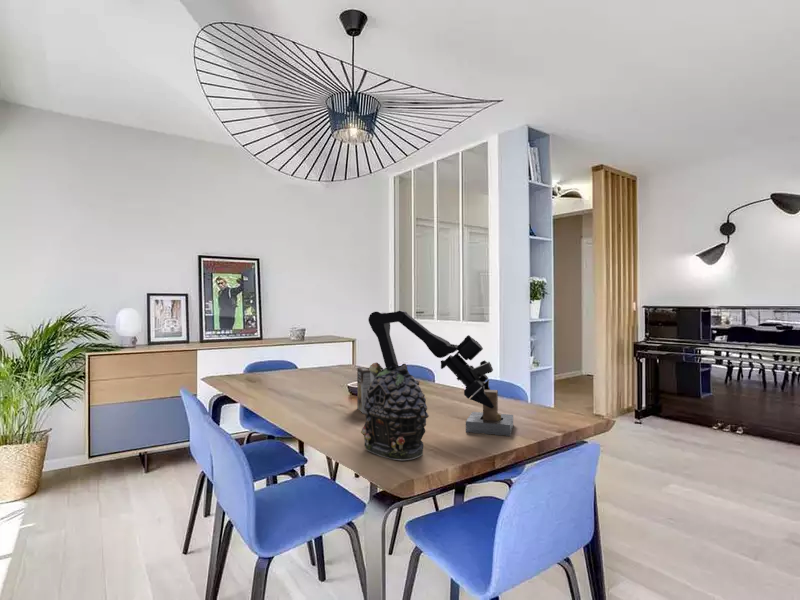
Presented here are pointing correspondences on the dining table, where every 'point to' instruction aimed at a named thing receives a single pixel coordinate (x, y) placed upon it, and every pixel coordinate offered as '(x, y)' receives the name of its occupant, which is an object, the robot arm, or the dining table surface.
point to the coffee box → (362, 387)
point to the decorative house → (394, 413)
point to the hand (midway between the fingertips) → (494, 404)
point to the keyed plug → (491, 412)
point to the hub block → (489, 424)
